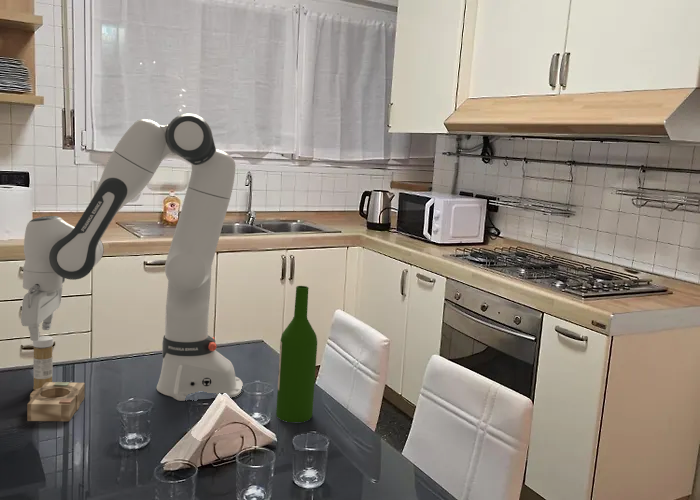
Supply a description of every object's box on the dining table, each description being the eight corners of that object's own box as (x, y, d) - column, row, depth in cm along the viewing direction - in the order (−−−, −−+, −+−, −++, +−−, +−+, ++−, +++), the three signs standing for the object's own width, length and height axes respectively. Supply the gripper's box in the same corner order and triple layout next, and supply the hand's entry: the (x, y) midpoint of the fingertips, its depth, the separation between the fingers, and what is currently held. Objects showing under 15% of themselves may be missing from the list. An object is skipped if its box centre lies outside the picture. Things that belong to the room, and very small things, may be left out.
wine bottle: (277, 407, 165) (285, 282, 160) (313, 410, 165) (321, 284, 161) (274, 422, 156) (281, 289, 152) (311, 424, 156) (320, 292, 152)
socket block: (85, 398, 162) (85, 381, 162) (70, 421, 149) (70, 403, 148) (40, 397, 161) (41, 380, 160) (21, 420, 147) (21, 402, 146)
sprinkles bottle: (49, 384, 169) (50, 334, 167) (54, 390, 166) (55, 339, 164) (30, 387, 166) (30, 336, 165) (35, 393, 163) (35, 341, 161)
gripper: (43, 290, 152) (41, 347, 154) (67, 273, 172) (65, 324, 174) (14, 288, 151) (12, 346, 153) (41, 272, 171) (40, 323, 173)
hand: (40, 334), depth 164 cm, fingers open, 8 cm apart
